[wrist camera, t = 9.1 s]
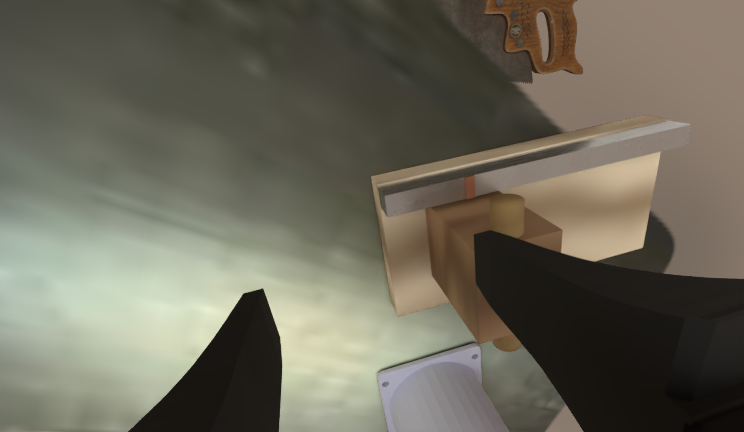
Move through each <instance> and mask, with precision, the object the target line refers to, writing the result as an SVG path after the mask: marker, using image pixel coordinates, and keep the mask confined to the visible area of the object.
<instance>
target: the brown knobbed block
mask: <svg viewBox="0 0 744 432" xmlns="http://www.w3.org/2000/svg"><path fill="white" fill-rule="evenodd" d="M425 213H426V222H427V232H428V242H429V252H430V262H431V271H432V276H433V278H434V279H435V281H436V282H437V284H438V285H439V287H440V288H441V289H442V291H443V292H444V294H445V295H446V297H447V298H448V300H449V301H450V302H451V304H452V305H453V307H454V308H455V310H456V311H457V313H458V314H459V315H460V317H461V318H462V320H463V321H464V323H465V324H466V326H467V327H468V328H469V330H470V331H471V333H472V334H473V336H474V337H475V339H476V340H477V341H478V343H479V344H481V343H484V342H488V341H491V340H492V342H493V344H494V346H495V347H496V348H498V349H500V350H502V351H506V352H511V351H515V350H517V349H519V348H520V346H521V342H520V341H519V340H518V339H517V338H516V336H515V335H514V334H513V333H512V332H511V331H510V329H509V328H508V327H507V326H506V325H505V324H504V322H503V321H502V320H501V319H500V318H499V316H498V315H497V314H496V313H495V312H494V310H493V309H492V308H491V307H490V305H489V304H488V302H487V301H486V299H485V298H484V296H483V294H482V293H481V291H480V290H479V288H478V286H477V285H476V280H475V256H474V234H477V233H481V232H485V231H488V230H492V231H496V232H499V233H502V234H506V235H509V236H512V237H515V238H517V239H520V240H523V241H526V242H529V243H532V244H535V245H538V246H541V247H544V248H547V249H550V250H553V251H557V252H560V253H561V246H562V233H563V230H562V229H561V228H559V227H557V226H556V225H554V224H552V223H551V222H549V221H547V220H546V219H544V218H542V217H541V216H539V215H538V214H536V213H534V212H533V211H531V210H529V209H528V208H526V207H525V199H524V198H523V197H522V196H520V195H517V194H503V193H501V192H500V191H496V192H492V193H488V194H484V195H479V196H475V198H471V199H463V200H459V201H455V202H450V203H446V204H442V205H438V206H434V207H430V208H426V209H425Z"/></svg>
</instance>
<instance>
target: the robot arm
mask: <svg viewBox="0 0 744 432" xmlns="http://www.w3.org/2000/svg"><path fill="white" fill-rule="evenodd" d="M474 256H475V280H476V285H477V286H478V288H479V290H480V291H481V293H482V294H483V296H484V298H485V299H486V301H487V302H488V304H489V305H490V307H491V308H492V309H493V310H494V312H495V313H496V314H497V315H498V316H499V318H500V319H501V320H502V321H503V322H504V324H505V325H506V326H507V327H508V328H509V329H510V331H511V332H512V333H513V334H514V335H515V336H516V338H517V339H518V340H519V341H520V342H521V343H522V345H523V346H524V347H525V348H526V349H527V350H528V352H529V353H530V354H531V355H532V356H533V358H534V359H535V360H536V362H537V363H538V364H539V365H540V367H541V368H542V369H543V371H544V372H545V374H546V375H547V377H548V378H549V380H550V381H551V383H552V384H553V385H554V387H555V388H556V390H557V391H558V393H559V394H560V396H561V397H562V399H563V400H564V402H565V403H566V405H567V406H568V408H569V409H570V411H571V413H572V414H573V416H574V417H575V419H576V420H577V422H578V423H579V425H580V427H581V428H582V430H583V431H584V432H744V279H727V278H704V277H693V276H681V275H671V274H662V273H654V272H647V271H641V270H634V269H628V268H622V267H617V266H612V265H607V264H603V263H598V262H593V261H589V260H585V259H581V258H577V257H574V256H570V255H567V254H563V253H560V252H557V251H553V250H550V249H547V248H544V247H541V246H538V245H535V244H532V243H529V242H526V241H523V240H520V239H517V238H515V237H512V236H509V235H506V234H502V233H499V232H496V231H492V230H488V231H485V232H481V233H477V234H474ZM377 380H378V385H379V390H380V394H381V399H382V404H383V409H384V414H385V418H386V423H387V428H388V432H510V431H509V430H508V428H507V427H506V425H505V423H504V422H503V420H502V418H501V417H500V415H499V413H498V412H497V410H496V409H495V407H494V405H493V404H492V402H491V400H490V399H489V397H488V395H487V394H486V392H485V391H484V389H483V387H482V371H481V349H480V347H479V345H478V344H476V343H473V344H469V345H466V346H462V347H459V348H456V349H453V350H449V351H446V352H443V353H439V354H436V355H433V356H429V357H426V358H423V359H419V360H416V361H413V362H409V363H406V364H403V365H400V366H396V367H393V368H390V369H386V370H383V371H381V372H379V373H378V375H377ZM386 381H387V382H386ZM281 382H282V355H281V343H280V336H279V333H278V330H277V327H276V324H275V321H274V319H273V316H272V313H271V310H270V307H269V304H268V301H267V298H266V295H265V292H264V290H263V289H259V290H256V291H252V292H248V293H244V294H243V295H242V297H241V298H240V300H239V301H238V303H237V304H236V306H235V307H234V309H233V310H232V312H231V313H230V315H229V316H228V318H227V319H226V321H225V322H224V324H223V325H222V327H221V328H220V330H219V331H218V333H217V334H216V335H215V337H214V338H213V340H212V341H211V342H210V344H209V345H208V346H207V348H206V349H205V350H204V352H203V353H202V354H201V355H200V357H199V358H198V359H197V361H196V362H195V363H194V364H193V366H192V367H191V368H190V369H189V370H188V372H187V373H186V374H185V375H184V376H183V377H182V378H181V380H180V381H179V382H178V383H177V384H176V385H175V386H174V387H173V388H172V389H171V390H170V392H169V393H168V394H167V395H166V396H165V397H164V398H163V399H162V400H161V401H160V402H159V403H158V404H157V405H156V406H155V407H153V408H152V409H151V410H150V411H149V412H148V413H147V414H146V415H145V416H144V417H143V418H142V419H141V420H140V421H139V422H138V423H137V424H136V425H135V426H134V427H133V428H131V429H130V430H129V431H128V432H279V418H280V400H281Z"/></svg>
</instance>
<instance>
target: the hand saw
mask: <svg viewBox="0 0 744 432" xmlns="http://www.w3.org/2000/svg"><path fill="white" fill-rule="evenodd" d="M432 1H433V2H434V4H435V6H436V7H437V8H438V9H440V10H441V11H442V12H443V13H444V15H445V16H446V18H447V19H449V20H450V21H451V22H452V23H453V24H454V26H455V27H456V28H457V29H458V30H459V31H461V32H462V33H463V34H464V35H465V37H466V38H467V39H468V40H469V41H471V42H472V43H473V44H474V45H476V47H477V48H478V49H479V50H480V51H481V52H483V53H484V54H485V55H487V56H488V57H489V58H490V60H491V61H492V62H494V63H495V64H496V65H498V66H499V67H500V68H501V69H502V70H503V72H504V73H506V74H507V75H508V76H509V77H511V79H512V80H513V81H514V82H517V83H518V82H519V83H520V82H521V83H522V82H523V83H524V82H525V83H529V84H530V83H531V84H532V83H533V78H532V71H533V72H534V73H539V74H546V73H551V72H556V71H559V70H564V71H567V72H569V73H572V74H582V73H583V68H582V66H581V65H580V64H579V63H578V62H577V60H576V58H575V43H576V35H577V23H576V18H575V16H574V12H573V8H572V7H573V4H574V2H575V1H577V0H432ZM539 12H543V13H544V15H545V18H546V23H547V28H548V39H549V50H548V58H547V61H546V62H543V59H542V48H541V39H540V35H539V31H538V27H537V23H536V16H537V13H539Z"/></svg>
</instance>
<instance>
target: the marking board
mask: <svg viewBox="0 0 744 432" xmlns="http://www.w3.org/2000/svg"><path fill="white" fill-rule="evenodd" d="M691 126H692V124H687V123H681V122H674V121H668V120H667V119H666V118H660V117H654V116H647V115H643V116H638V117H634V118H629V119H625V120H620V121H616V122H611V123H607V124H603V125H598V126H594V127H589V128H585V129H580V130H576V131H571V132H567V133H562V134H558V135H553V136H549V137H545V138H540V139H536V140H531V141H527V142H522V143H518V144H513V145H509V146H504V147H500V148H495V149H491V150H487V151H482V152H478V153H473V154H469V155H464V156H460V157H455V158H451V159H446V160H442V161H438V162H433V163H429V164H424V165H420V166H415V167H411V168H406V169H402V170H397V171H393V172H388V173H384V174H380V175H375V176H371V181H372V187H373V193H374V199H375V205H376V211H377V217H378V223H379V229H380V235H381V241H382V247H383V253H384V260H385V266H386V272H387V278H388V284H389V290H390V296H391V302H392V305H393V307H394V309H395V311H396V314H397V316H398V317H399V316H403V315H406V314H410V313H414V312H417V311H421V310H424V309H428V308H431V307H435V306H438V305H442V304H445V303H449V302H450V301H449V300H448V298H447V297H446V295H445V294H444V292H443V291H442V289H441V288H440V287H439V285H438V284H437V282H436V281H435V279H434V278H433V276H432V271H431V262H430V252H429V242H428V232H427V222H426V213H425V209H426V208H430V207H434V206H438V205H442V204H446V203H450V202H455V201H459V200H463V199H471V198H475V196H479V195H484V194H488V193H492V192H496V191H500V192H501V193H503V194H517V195H520V196H522V197H523V198H524V199H525V207H526V208H528V209H529V210H531V211H533V212H534V213H536V214H538V215H539V216H541V217H542V218H544V219H546V220H547V221H549V222H551V223H552V224H554V225H556V226H557V227H559V228H561V229H562V230H563V233H562V246H561V253H563V254H567V255H570V256H574V257H577V258H581V259H585V260H589V261H593V262H594V261H598V260H601V259H605V258H608V257H612V256H615V255H619V254H622V253H626V252H629V251H633V250H636V249H640V248H643V244H644V238H645V233H646V228H647V223H648V217H649V212H650V207H651V201H652V196H653V190H654V185H655V180H656V175H657V169H658V164H659V159H660V153H661V151H665V150H669V149H674V148H678V147H682V146H686V145H687V144H688V140H689V135H690V131H691Z"/></svg>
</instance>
